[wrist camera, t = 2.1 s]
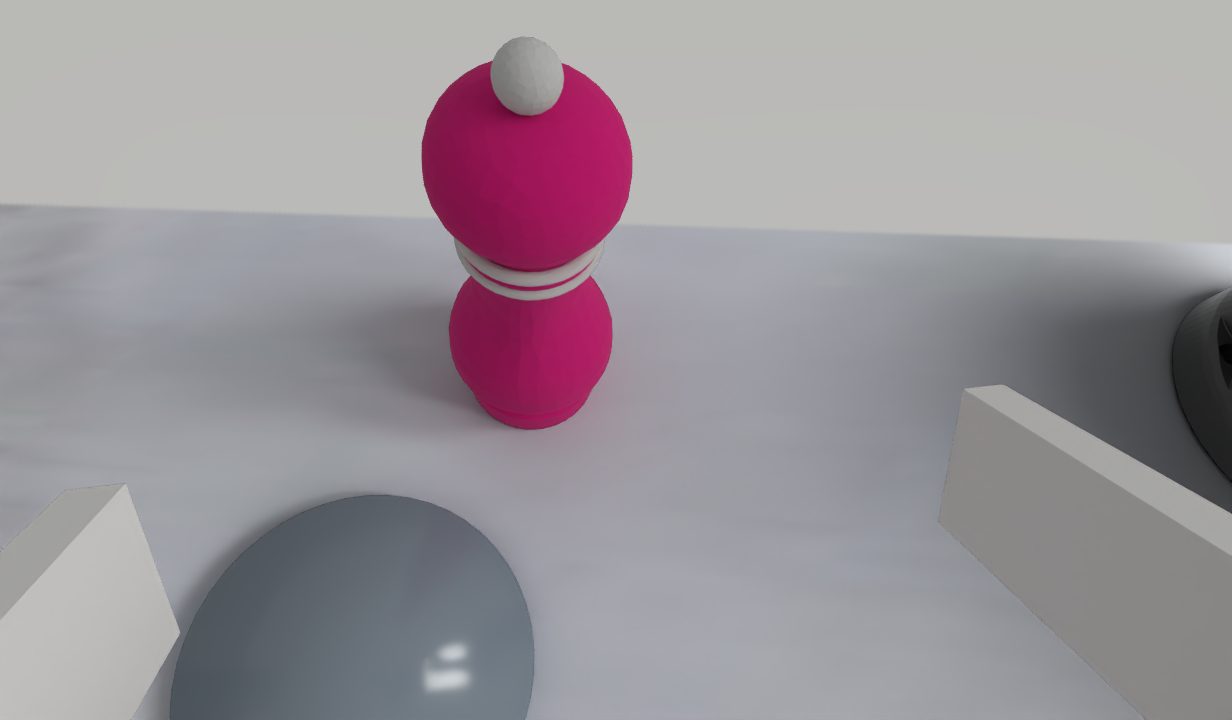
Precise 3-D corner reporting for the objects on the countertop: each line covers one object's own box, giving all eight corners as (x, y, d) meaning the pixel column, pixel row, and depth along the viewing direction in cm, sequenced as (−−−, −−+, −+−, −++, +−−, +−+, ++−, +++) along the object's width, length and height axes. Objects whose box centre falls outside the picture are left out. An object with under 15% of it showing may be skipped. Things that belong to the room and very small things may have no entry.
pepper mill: (526, 470, 32) (512, 233, 13) (430, 366, 33) (297, 25, 15) (632, 376, 34) (742, 67, 16) (538, 283, 36) (538, -96, 17)
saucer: (455, 448, 32) (453, 442, 31) (591, 741, 27) (593, 745, 26) (142, 594, 28) (128, 592, 27) (244, 961, 24) (232, 974, 23)
